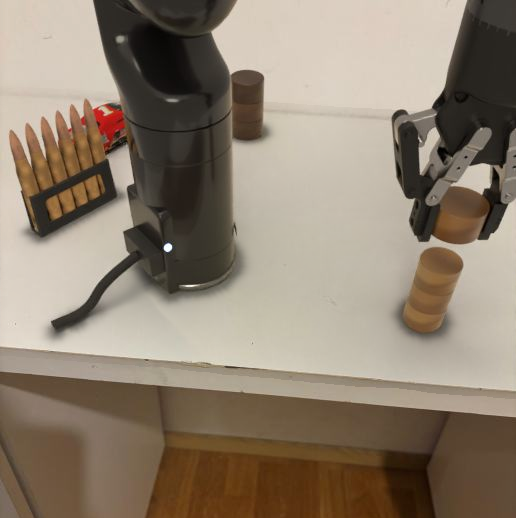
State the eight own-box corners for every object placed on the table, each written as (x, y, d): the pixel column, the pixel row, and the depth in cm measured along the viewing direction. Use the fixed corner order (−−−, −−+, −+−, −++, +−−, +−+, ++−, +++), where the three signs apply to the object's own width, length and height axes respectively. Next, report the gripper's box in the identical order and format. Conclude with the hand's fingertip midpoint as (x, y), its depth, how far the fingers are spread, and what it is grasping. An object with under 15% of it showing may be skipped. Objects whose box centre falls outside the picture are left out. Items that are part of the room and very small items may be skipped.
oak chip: (454, 251, 45) (464, 225, 43) (413, 222, 47) (421, 196, 45) (491, 232, 46) (502, 206, 45) (450, 205, 49) (458, 179, 47)
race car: (78, 171, 72) (70, 141, 69) (51, 155, 74) (43, 126, 71) (155, 130, 79) (151, 101, 76) (128, 117, 81) (123, 88, 78)
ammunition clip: (108, 190, 69) (87, 92, 60) (117, 196, 69) (98, 98, 59) (31, 230, 64) (-4, 130, 55) (41, 237, 63) (7, 137, 54)
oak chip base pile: (423, 339, 55) (444, 281, 49) (394, 315, 57) (411, 257, 51) (449, 321, 56) (472, 263, 50) (420, 299, 58) (439, 241, 52)
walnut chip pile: (243, 143, 77) (243, 88, 71) (224, 130, 79) (223, 75, 73) (269, 133, 79) (271, 79, 73) (249, 120, 81) (250, 66, 75)
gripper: (435, 30, 31) (375, 268, 44) (677, 30, 33) (551, 261, 45) (399, -16, 36) (355, 210, 49) (611, -14, 38) (514, 206, 50)
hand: (450, 234), depth 47 cm, fingers closed on oak chip, 4 cm apart
